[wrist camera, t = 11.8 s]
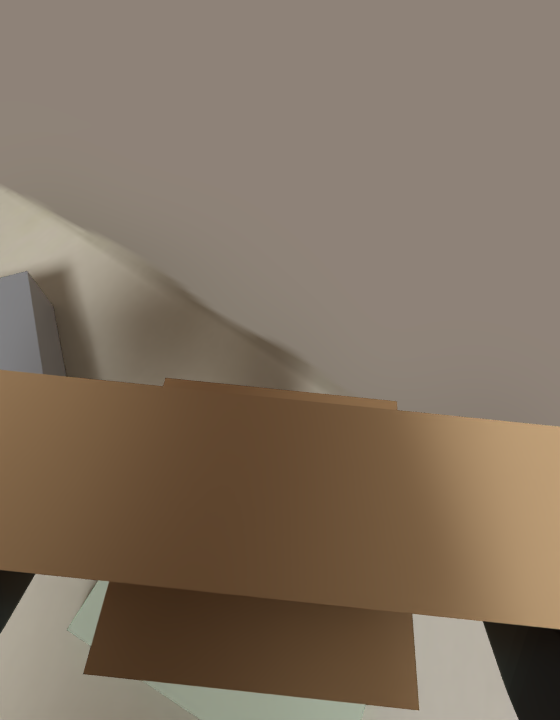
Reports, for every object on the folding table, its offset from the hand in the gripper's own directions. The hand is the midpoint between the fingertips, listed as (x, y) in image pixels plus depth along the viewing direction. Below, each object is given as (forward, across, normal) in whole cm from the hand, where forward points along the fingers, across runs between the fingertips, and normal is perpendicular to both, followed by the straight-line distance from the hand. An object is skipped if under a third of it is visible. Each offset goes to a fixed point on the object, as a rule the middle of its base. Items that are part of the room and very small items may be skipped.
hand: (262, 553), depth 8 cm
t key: (+7, 0, +6) cm, 9 cm away
